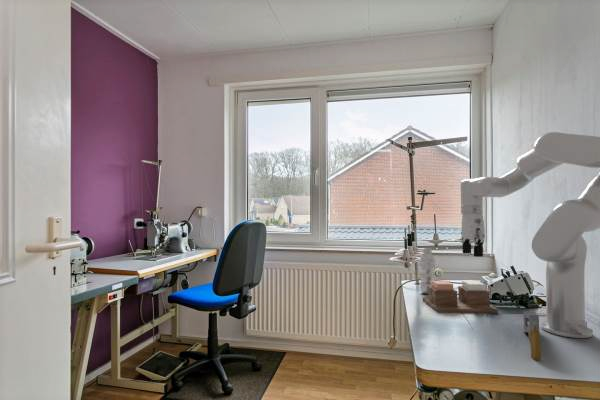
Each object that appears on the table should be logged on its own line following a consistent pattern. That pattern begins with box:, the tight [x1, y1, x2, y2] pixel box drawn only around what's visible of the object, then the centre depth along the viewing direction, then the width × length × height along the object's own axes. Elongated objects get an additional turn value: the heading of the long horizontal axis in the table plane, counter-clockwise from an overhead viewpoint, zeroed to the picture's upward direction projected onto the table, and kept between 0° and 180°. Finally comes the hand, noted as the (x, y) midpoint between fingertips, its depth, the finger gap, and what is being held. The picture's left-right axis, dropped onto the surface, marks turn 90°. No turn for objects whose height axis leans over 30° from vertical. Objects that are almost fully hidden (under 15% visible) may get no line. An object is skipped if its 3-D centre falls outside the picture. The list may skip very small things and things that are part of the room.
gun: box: [522, 310, 542, 361], centre depth 97 cm, size 3×25×15 cm, turn 150°
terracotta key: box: [432, 280, 454, 290], centre depth 134 cm, size 6×6×5 cm
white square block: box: [461, 280, 486, 291], centre depth 133 cm, size 6×6×5 cm
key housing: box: [422, 285, 499, 314], centre depth 133 cm, size 16×22×7 cm
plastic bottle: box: [419, 247, 436, 295], centre depth 154 cm, size 6×7×20 cm
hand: (472, 254), depth 133 cm, fingers open, 9 cm apart
